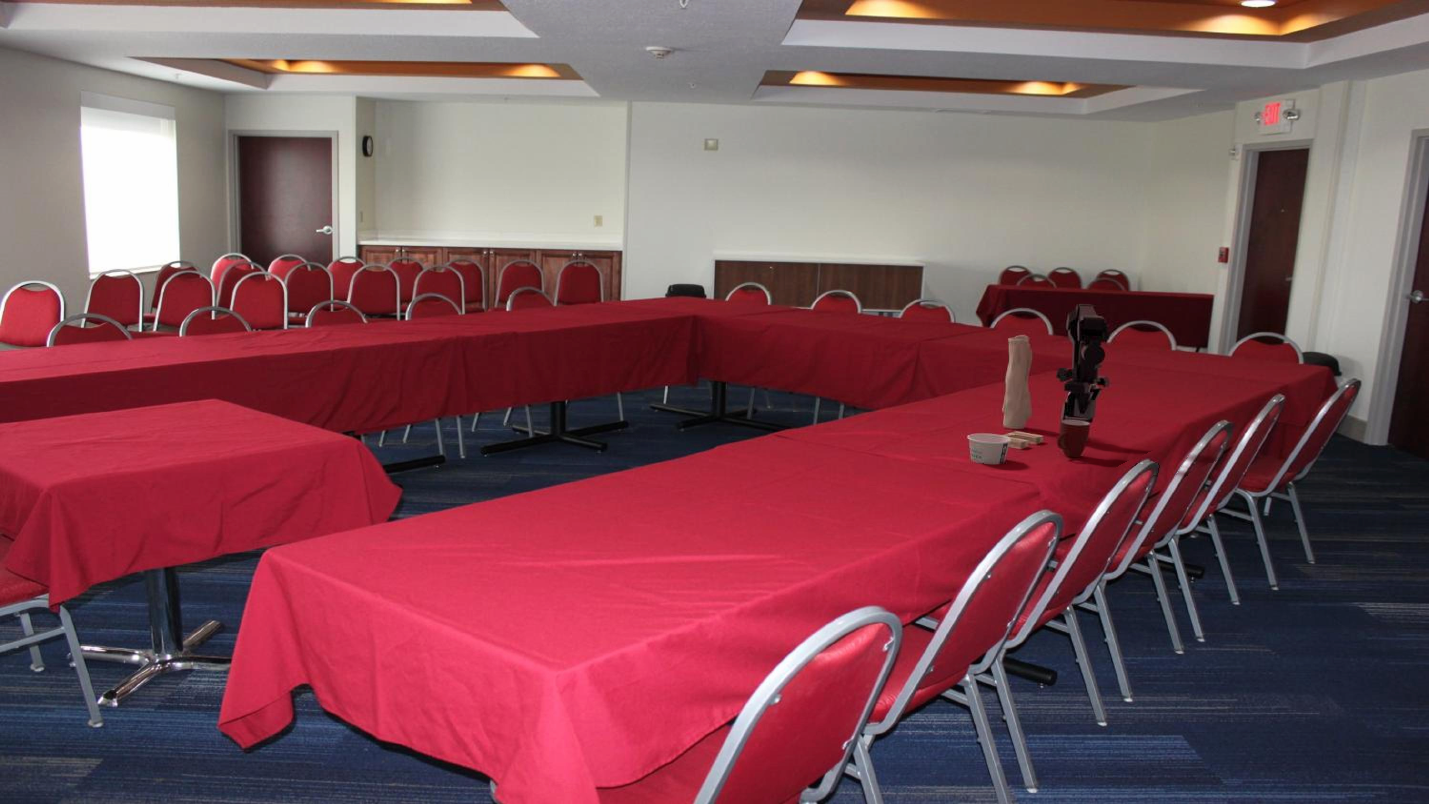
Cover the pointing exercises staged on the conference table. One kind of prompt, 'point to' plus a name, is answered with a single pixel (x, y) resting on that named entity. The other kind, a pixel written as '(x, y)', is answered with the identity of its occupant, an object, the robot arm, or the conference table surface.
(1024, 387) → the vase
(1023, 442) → the notch board
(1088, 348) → the robot arm
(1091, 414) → the grey block
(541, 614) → the conference table surface
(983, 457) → the food container
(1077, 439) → the mug
